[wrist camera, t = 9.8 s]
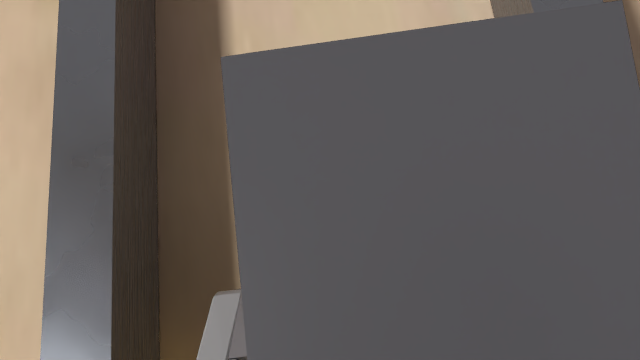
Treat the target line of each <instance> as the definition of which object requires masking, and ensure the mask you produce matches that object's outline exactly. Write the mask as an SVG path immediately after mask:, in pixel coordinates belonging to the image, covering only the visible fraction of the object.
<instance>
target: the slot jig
mask: <svg viewBox="0 0 640 360" xmlns="http://www.w3.org/2000/svg"><path fill="white" fill-rule="evenodd" d="M490 1H491V5H492V9H493V13H494V17H495V18H500V17H507V16H514V15H521V14H528V13H535V12H542V11H549V10H556V9H563V8H570V7H577V6H584V5H591V4H598V3H604V2H603V0H490ZM40 360H160V348H159V278H158V208H157V138H156V67H155V0H59V14H58V33H57V52H56V71H55V90H54V109H53V128H52V147H51V166H50V185H49V204H48V223H47V242H46V261H45V280H44V298H43V317H42V336H41V355H40Z"/></svg>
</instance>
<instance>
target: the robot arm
mask: <svg viewBox="0 0 640 360" xmlns="http://www.w3.org/2000/svg"><path fill="white" fill-rule="evenodd" d="M196 360H247V351H246V340H245V328H244V317H243V306H242V294H241V289H237V290H228V291H219V292H217V293H216V295H215V296H214V297H213V299H212V303H211V307H210V311H209V314H208V318H207V322H206V325H205V329H204V333H203V337H202V340H201V344H200V348H199V351H198V355H197V359H196Z"/></svg>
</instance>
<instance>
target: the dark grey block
mask: <svg viewBox="0 0 640 360" xmlns="http://www.w3.org/2000/svg"><path fill="white" fill-rule="evenodd" d="M221 67H222V79H223V90H224V101H225V113H226V124H227V135H228V147H229V158H230V169H231V181H232V192H233V203H234V215H235V226H236V237H237V249H238V260H239V272H240V283H241V294H242V306H243V317H244V328H245V340H246V351H247V360H640V89H639V84H638V79H637V74H636V69H635V64H634V59H633V53H632V48H631V43H630V38H629V33H628V28H627V23H626V18H625V12H624V7H623V2H622V0H619V1H612V2H605V3H598V4H591V5H584V6H577V7H570V8H563V9H556V10H549V11H542V12H535V13H528V14H521V15H514V16H507V17H500V18H493V19H486V20H479V21H472V22H465V23H457V24H450V25H443V26H436V27H429V28H422V29H415V30H408V31H401V32H394V33H387V34H380V35H373V36H366V37H359V38H352V39H345V40H338V41H331V42H324V43H317V44H310V45H302V46H295V47H288V48H281V49H274V50H267V51H260V52H253V53H246V54H239V55H232V56H225V57H221Z"/></svg>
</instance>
